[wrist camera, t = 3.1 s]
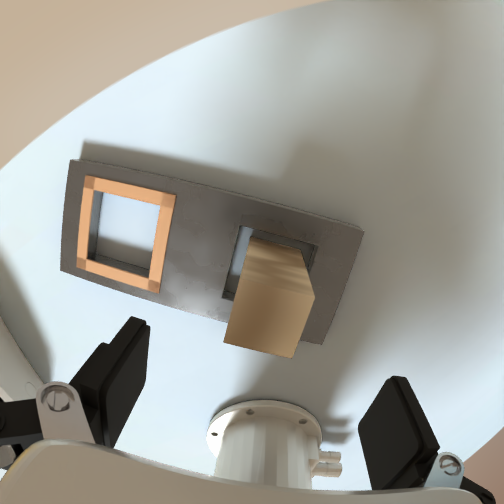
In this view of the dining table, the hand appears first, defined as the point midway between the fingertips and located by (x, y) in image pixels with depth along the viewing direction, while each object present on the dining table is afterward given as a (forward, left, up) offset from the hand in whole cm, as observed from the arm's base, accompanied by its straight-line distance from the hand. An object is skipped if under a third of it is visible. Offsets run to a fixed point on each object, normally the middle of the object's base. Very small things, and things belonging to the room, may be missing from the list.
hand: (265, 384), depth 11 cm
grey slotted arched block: (+28, +20, -15) cm, 38 cm away
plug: (0, 0, -15) cm, 15 cm away
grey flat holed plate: (+6, 0, -15) cm, 16 cm away
